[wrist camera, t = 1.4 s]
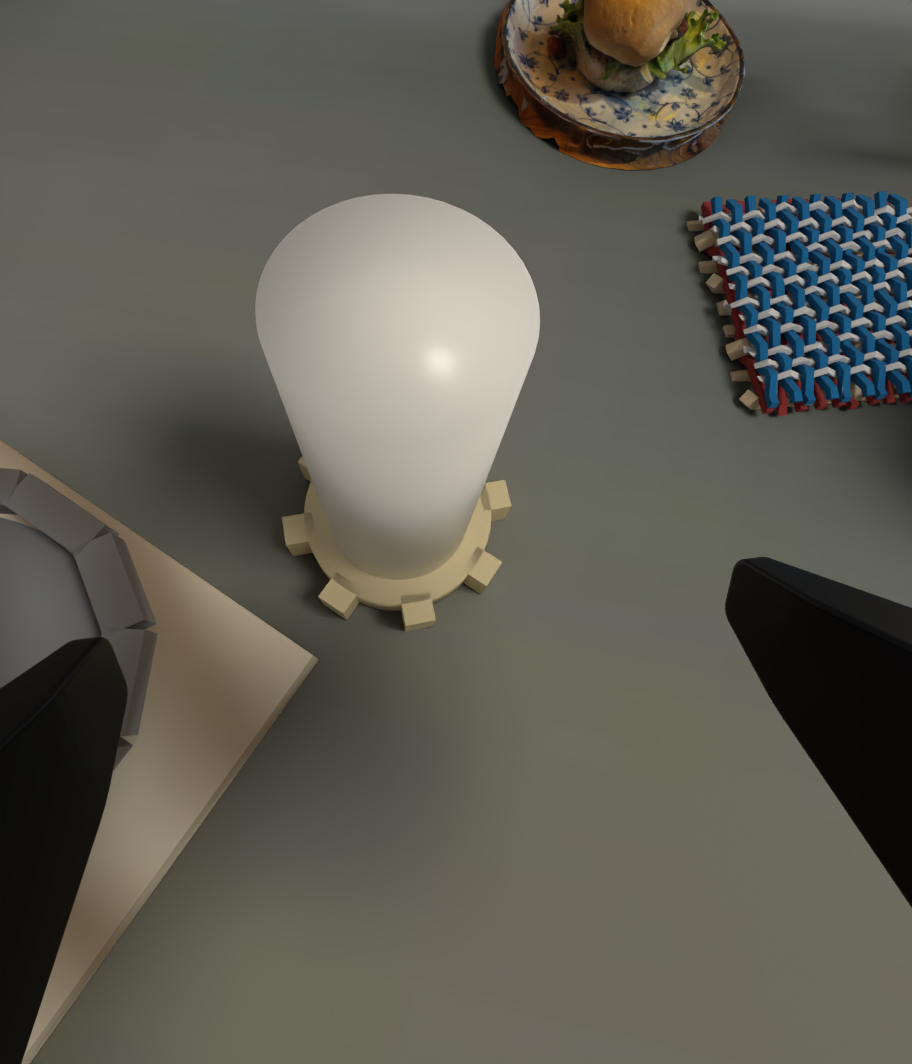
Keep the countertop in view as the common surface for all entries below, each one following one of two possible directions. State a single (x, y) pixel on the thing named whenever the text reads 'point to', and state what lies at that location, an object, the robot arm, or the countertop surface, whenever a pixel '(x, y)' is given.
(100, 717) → the robot arm
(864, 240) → the woven mat
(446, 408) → the gear spindle
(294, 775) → the countertop surface
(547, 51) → the burger
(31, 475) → the gear board
